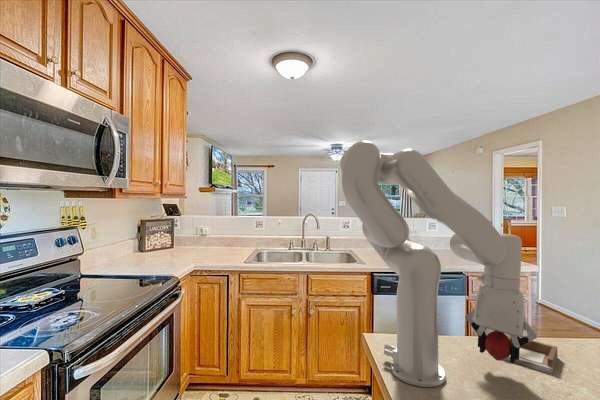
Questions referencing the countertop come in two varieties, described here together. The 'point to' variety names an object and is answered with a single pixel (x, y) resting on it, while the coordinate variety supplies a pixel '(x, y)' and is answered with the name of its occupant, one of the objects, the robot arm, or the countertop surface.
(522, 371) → the countertop surface
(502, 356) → the onion
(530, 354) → the tray
